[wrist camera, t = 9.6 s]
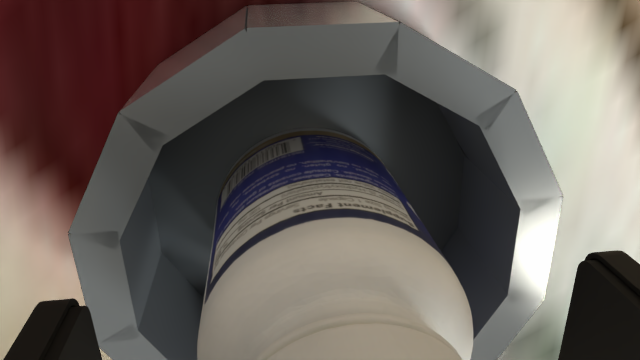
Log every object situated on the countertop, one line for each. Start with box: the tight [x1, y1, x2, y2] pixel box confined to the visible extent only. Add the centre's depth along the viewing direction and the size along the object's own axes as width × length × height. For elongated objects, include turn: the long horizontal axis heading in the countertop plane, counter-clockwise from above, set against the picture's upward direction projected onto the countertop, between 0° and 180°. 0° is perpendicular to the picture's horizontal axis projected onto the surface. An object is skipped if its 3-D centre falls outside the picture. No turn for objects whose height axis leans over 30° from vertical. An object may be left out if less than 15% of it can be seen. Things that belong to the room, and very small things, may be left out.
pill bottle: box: [197, 128, 473, 360], centre depth 11 cm, size 5×5×9 cm
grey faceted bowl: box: [68, 1, 563, 360], centre depth 14 cm, size 11×11×4 cm
